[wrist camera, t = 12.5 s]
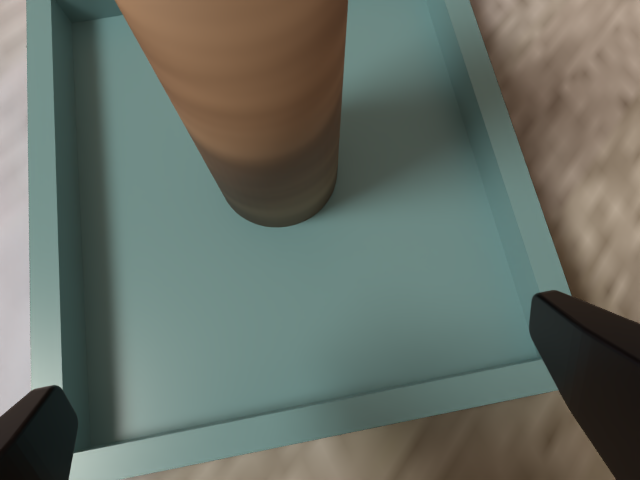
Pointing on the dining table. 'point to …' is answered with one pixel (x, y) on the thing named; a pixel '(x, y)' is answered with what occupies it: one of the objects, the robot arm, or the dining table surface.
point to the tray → (276, 250)
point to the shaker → (254, 94)
